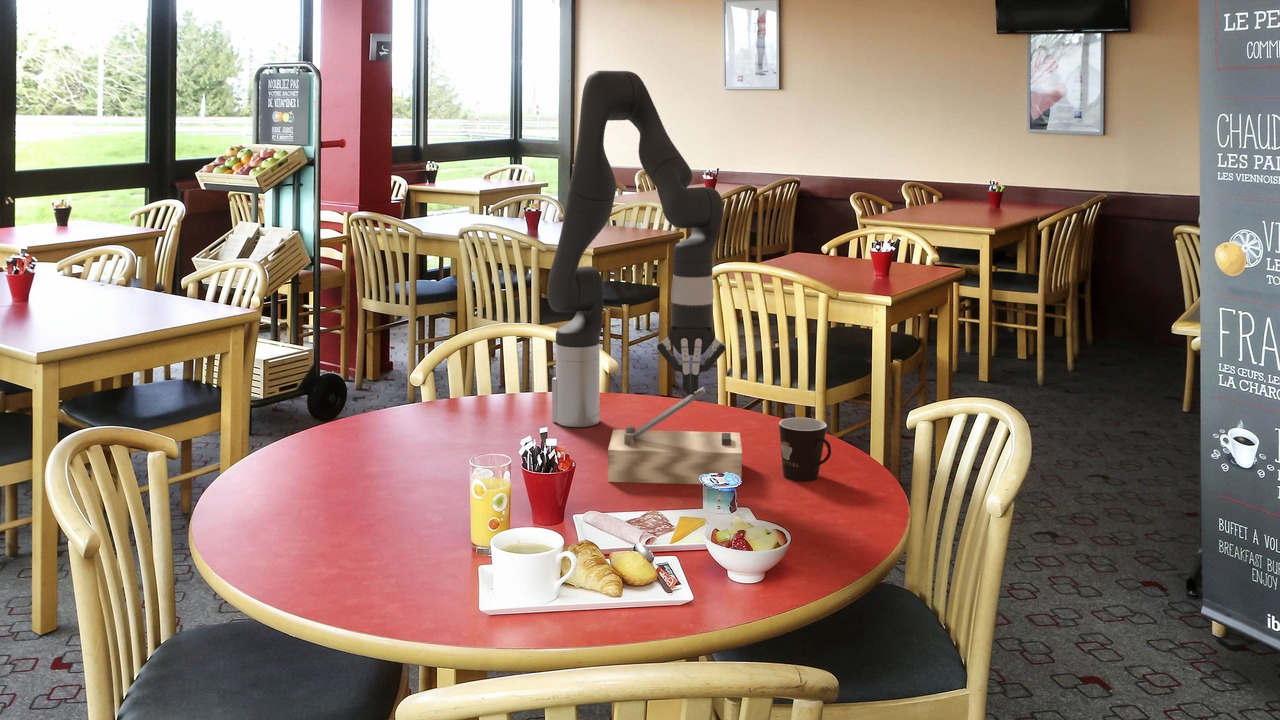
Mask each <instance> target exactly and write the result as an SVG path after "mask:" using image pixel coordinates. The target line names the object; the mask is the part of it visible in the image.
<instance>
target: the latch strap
mask: <svg viewBox="0 0 1280 720" xmlns="http://www.w3.org/2000/svg"><path fill="white" fill-rule="evenodd" d="M705 393H706V388H705V387H704V386H702V387H699V388H698V390H697V391H694V394H688V395H687V396H686V397H685V398H683V399H681V400H680V401H678V402H677V403H676V404H673V405H672V406H671V407H669V408H668V409H666V410H664V411H663V412H662V413H660V414H658V415H656V416H655V417H653V418H652V419H650V420H649V421H647V422H646V423H644V424H643V425H641V426H639V428H636V429H635V431H634V432H632V433H634V435H633V439H635V438H636V437H638V436H639V435H641V434H643V433H644V432H646V431H647V430H650V429H652V428H654V427H655V426H657V425H658V424H660V423H662V421H664V420H666V419H667V418H669V417H671V416H672V415H673V414H675V413H677V412H678V411H680V410H681V409H683V408H684V407H686V406H687V405H689V404H691V403H692V402H694V401H695V400H697V399H698V398H700V397H702V395H704V394H705Z"/></svg>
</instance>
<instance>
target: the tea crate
mask: <svg viewBox="0 0 1280 720" xmlns="http://www.w3.org/2000/svg"><path fill="white" fill-rule="evenodd" d="M635 430H636V426H629V425H628V426H627V425H626V426H625V429H613V430H612V433H611V437H610V440H609V441H610V442H609V445H608V448H607V449H608V450H607V482H608V483H636V484H638V483H639V484H641V483H643V484H644V483H645V484H680V485H681V484H683V485H702V484H701V483H700V480H699V476H700V475H702V474H709V473H725V472H728V473H734V474H736V475H738V476H739V477H740V478H741V479H742V468H743V465H742V464H743V450H742V449H743V448H742V440H741V432H734V431H733V432H731V431H730V432H727V431H692V430H691V431H689V430H688V431H687V430H686V431H685V430H650V429H649V430H647V431H646V432H644V433H643V434H641V435H639V436H638V437H636V438H635V439H633V435H634V433H632V432H634V431H635Z"/></svg>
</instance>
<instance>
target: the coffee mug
mask: <svg viewBox="0 0 1280 720" xmlns="http://www.w3.org/2000/svg"><path fill="white" fill-rule="evenodd" d="M827 425H828V424H827V423H826V422H825V421H822V420H820V419H816V418H810V417H788V418H784V419H781V420H780V421H779V422H778V427H779V439H780V441H779V442H780V451H781V452H780V454H781V465H782V476H783V478H785V479H786V480H788V481H793V482H797V483H806V482H814V481H816V480H818V478H819V474H820V469H821V465H822V464H825V463H826V462H827V461H828V460H829V459H830V458H831V455H832V448H831V444H830V442H829V441H828V439H826V433H827ZM824 444H825V445H826V449H827V454H826V456H825V457H824V458H823V459H822V457H823V456H822V455H823V450H824Z"/></svg>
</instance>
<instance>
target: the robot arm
mask: <svg viewBox="0 0 1280 720" xmlns="http://www.w3.org/2000/svg"><path fill="white" fill-rule="evenodd" d="M583 85H584V86H583V90H582V97H581V102H580V103H581V104H580V115H579V124H578V134H577V135H578V136H577V144H576V150H575V155H574V162H573V168H572V173H571V177H570V182H569V186H568V191H567V196H566V202H565V210H564V216H563V221H562V225H561V226H562V227H561V231H560V236H559V239H558V243H557V248H556V251H555V254H554V256H553V259H552V260H553V261H552V264H551V266H550V271H549V275H548V279H547V284H546V286H547V287H546V298H547V302H548V306H549V307H550V308H551V310H553V311H554V312H557V313H561V314H562V313H564V314H565V313H575V315H574V316H573V318H572V319H571V320H570V321H569V322H567V323H566V324H563V325H562V326H560V327H558V328H557V330H556V332H555V376H554V377H553V378H552V379H551V399H552V400H551V405H552V406H551V407H552V409H551V414H552V415H551V416H552V417H551V418H552V419H551V420H552V421H551V422H553V423H557V424H558V425H560V426H562V427H563V426H564V427H570V428H586V427H592V426H595V425H597V424H599V423H600V413H601V412H600V381H601V378H600V375H601V374H600V362H601V360H600V358H601V357H600V353H601V352H600V348H601V347H600V338H601V333H602V329H603V328H602V327H603V313H604V299H605V298H604V294H605V293H604V291H605V290H604V281H603V276H602V275H601V273H600V271H599V270H598V268H597V267H594V266H591V265H589V266H586V265H585V266H579V264H580V262H581V259H582V257H583V254H584V253H585V251H586V250H587V249H588V247H589V246H590V244H592V242H593V241H594V240H595V239H596V238H597V236H598V235H599V233H601V232H602V230H603V229H604V228H605V226H606V225H607V223H608V222H609V220H610V217H611V214H612V211H613V206H614V203H615V202H614V201H615V196H616V192H617V181H616V178H615V175H614V172H613V169H612V167H611V164H610V161H609V159H608V157H607V155H606V151H605V145H604V142H605V141H604V140H605V130H606V127H607V126H606V125H607V123H608V121H629V122H630V123H632V124H633V126H635V128H636V130H637V131H638V132H639V142H638V158H639V162H640V164H641V167H642V168H643V170H644V172H645V173H646V174H647V176H648V178H649V179H650V181H651V182H652V184H653V185H654V187H655V189H656V191H657V195H658V199H659V201H660V205H661V209H662V212H663V216H664V217H665V219H666V220H667V222H668V223H669V224H670V225H671V226H673V227H675V228H677V229H692V232H691V235H690V236H689V237H688V238H686V239H685V240H682V241H680V242H677V243H676V244H675V246H674V248H673V257H672V258H673V260H672V261H673V262H672V265H673V266H672V268H673V269H672V281H671V282H672V283H671V289H670V290H671V294H670V297H671V300H670V301H671V302H670V330H669V331H668V333H667V337H666V338H664V339H663V340H660V341H658V342H657V344H656V345H657V346H656V347H657V348H656V350H658V352H659V353H660V354H661V355H662V357H663V358H664V359H665V360H666V362H667V364H669V366H670V367H671V369H672V370H673V371H675V372H678V373H679V372H680V373H681V374H682V390H683V392H685V393H686V394H685V395H691V394H694V392H695V391H697V390H698V389H699V375H700V374H702V373H704V372H705V373H706V372H708V371H709V370H710V369H711V368H712V367H713V366H714V364H715V363H716V362H717V361H718V359H720V357H721V356H722V355H723V353H724V352H725V351H726V344H725V343H724V342H721V341H720V340H719V339H717V337H716V334H715V332H714V329H713V328H714V327H713V321H714V320H713V319H714V281H713V280H714V279H713V269H714V268H713V267H714V265H713V264H714V263H713V254H714V250H715V247H716V244H717V240H718V236H719V232H720V229H721V226H722V222H723V217H724V203H723V199H722V196H721V195H720V193H719V191H718V190H716V189H715V188H713V187H709V186H703V187H701V186H699V187H689V186H690V185H691V182H692V180H693V172H692V170H691V167H690V165H689V164H688V162H687V161H686V160H685V159H684V157H683V156H682V154H681V153H680V152H679V150H678V149H677V147H676V145H675V144H674V143H673V141H672V140H671V138H670V136H669V135H668V133H667V131H666V129H665V126H664V124H663V122H662V120H661V117H660V115H659V112H658V110H657V108H656V105H655V104H654V102H653V100H652V97H651V94H650V93H649V90H648V88H647V86H646V84H645V83H644V81H643V80H642V78H641V77H640V76H639V75H638V74H637V73H635V72H633V71H630V70H629V71H628V70H595V71H592V72H591V73H590V74H589V75H588V77H587V78H586V80H585V83H584V84H583ZM671 344H672V346H673V347H674V350H676V352H677V353H678V354H679V355H681V362H679V361H678V359H677V358H676V356H675V355H674V354H673V352H672V351H671V347H672V346H671ZM711 345H712V346H711ZM709 347H711V351H712V352H711V353H710V354H709V355H708V357H707V358H706V359H705V360H704V362H703V363H701V356H702V355H704V354H705V353H706V351H707V350H708V349H709ZM690 356H693V357H692V365H691V366H692V367H691V366H690ZM690 367H691V371H690Z"/></svg>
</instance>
